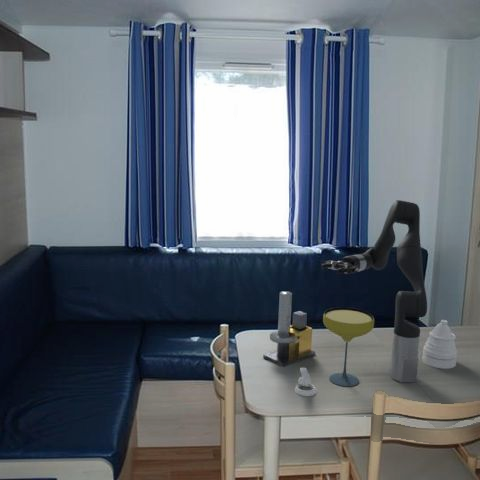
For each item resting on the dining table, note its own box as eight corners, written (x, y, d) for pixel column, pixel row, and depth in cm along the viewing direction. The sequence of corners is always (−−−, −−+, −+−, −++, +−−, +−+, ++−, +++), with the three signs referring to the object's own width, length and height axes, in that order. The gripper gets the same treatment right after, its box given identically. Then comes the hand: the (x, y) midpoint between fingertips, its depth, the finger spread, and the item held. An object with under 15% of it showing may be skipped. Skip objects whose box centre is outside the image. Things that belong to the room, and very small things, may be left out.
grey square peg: (298, 353, 222) (300, 315, 219) (291, 350, 225) (292, 312, 221) (304, 350, 224) (307, 313, 221) (297, 347, 227) (299, 310, 224)
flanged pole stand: (283, 366, 211) (286, 299, 206) (263, 357, 219) (265, 292, 214) (315, 354, 224) (319, 290, 218) (295, 346, 232) (298, 284, 226)
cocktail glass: (373, 375, 206) (378, 312, 201) (363, 395, 190) (369, 327, 185) (326, 366, 213) (330, 304, 208) (313, 384, 197) (317, 318, 192)
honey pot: (458, 370, 213) (463, 326, 210) (424, 366, 216) (428, 323, 212) (452, 357, 225) (457, 315, 222) (420, 354, 228) (424, 312, 224)
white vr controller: (289, 385, 184) (289, 367, 189) (296, 403, 192) (295, 385, 197) (311, 383, 182) (310, 365, 187) (317, 401, 191) (316, 383, 195)
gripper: (340, 252, 241) (317, 257, 230) (368, 258, 230) (344, 263, 220) (339, 269, 242) (316, 274, 231) (366, 275, 232) (343, 281, 221)
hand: (329, 269), depth 225 cm, fingers open, 8 cm apart
